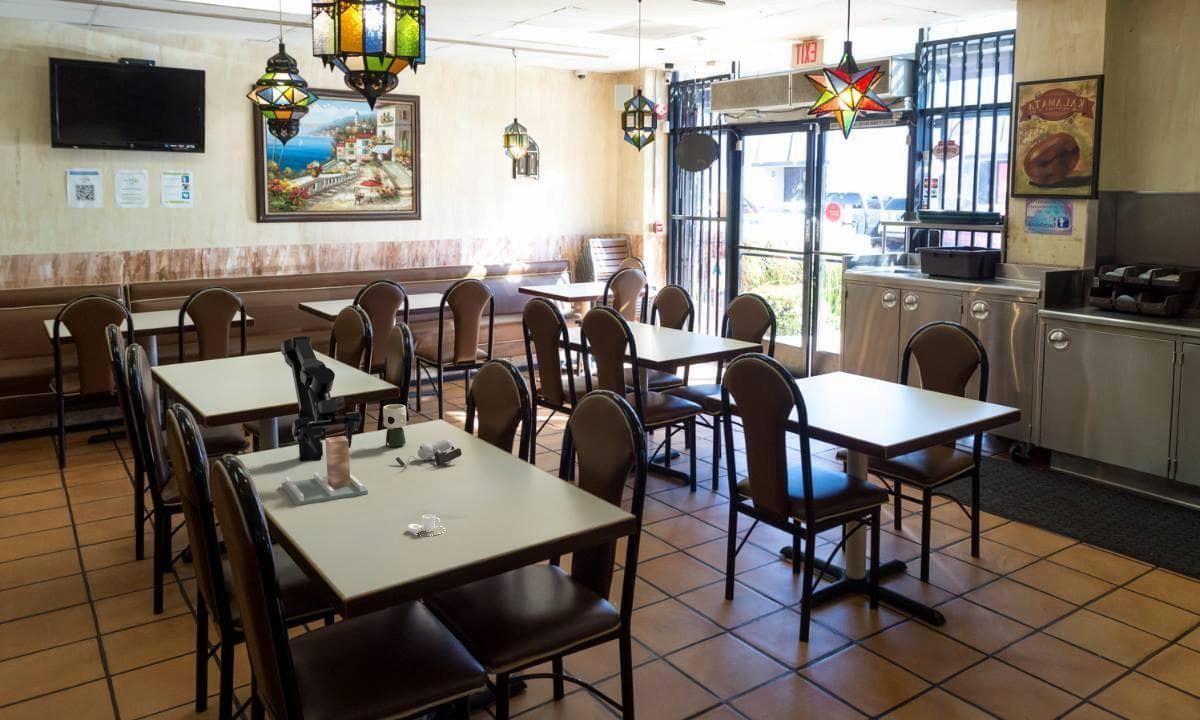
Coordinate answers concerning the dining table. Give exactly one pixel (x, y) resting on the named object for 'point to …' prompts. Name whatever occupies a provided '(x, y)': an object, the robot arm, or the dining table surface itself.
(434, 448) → the clip-on lamp
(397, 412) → the character mug
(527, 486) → the dining table surface
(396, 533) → the dining table surface
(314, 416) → the robot arm
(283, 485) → the slot board
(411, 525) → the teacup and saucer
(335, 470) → the plug block
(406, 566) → the dining table surface
